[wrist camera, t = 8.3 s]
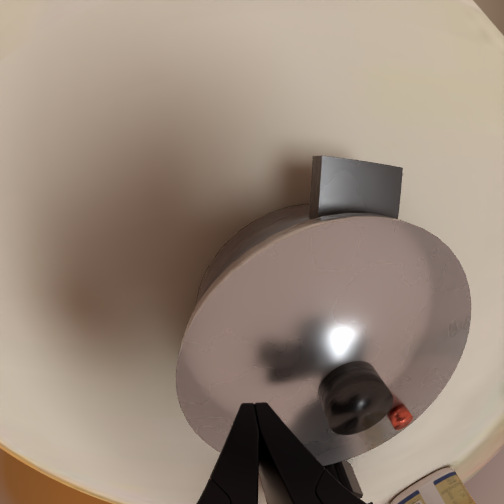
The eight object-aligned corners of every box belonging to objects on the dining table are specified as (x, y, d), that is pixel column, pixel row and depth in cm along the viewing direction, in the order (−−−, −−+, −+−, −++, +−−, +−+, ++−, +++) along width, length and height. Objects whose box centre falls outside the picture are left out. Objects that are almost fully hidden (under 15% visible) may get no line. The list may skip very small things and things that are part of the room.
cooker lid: (483, 225, 9) (525, 240, 7) (408, 431, 13) (425, 459, 11) (168, 204, 8) (145, 221, 6) (193, 458, 12) (191, 498, 9)
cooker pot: (285, 429, 18) (297, 479, 13) (128, 291, 14) (96, 339, 9) (434, 324, 16) (473, 359, 12) (333, 130, 12) (381, 117, 8)
